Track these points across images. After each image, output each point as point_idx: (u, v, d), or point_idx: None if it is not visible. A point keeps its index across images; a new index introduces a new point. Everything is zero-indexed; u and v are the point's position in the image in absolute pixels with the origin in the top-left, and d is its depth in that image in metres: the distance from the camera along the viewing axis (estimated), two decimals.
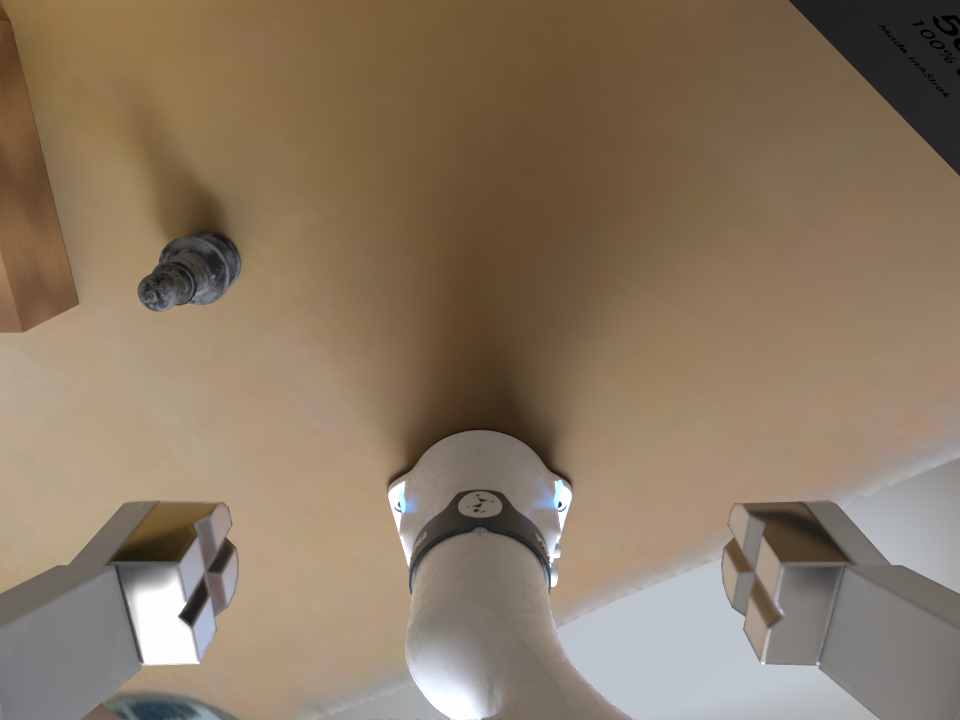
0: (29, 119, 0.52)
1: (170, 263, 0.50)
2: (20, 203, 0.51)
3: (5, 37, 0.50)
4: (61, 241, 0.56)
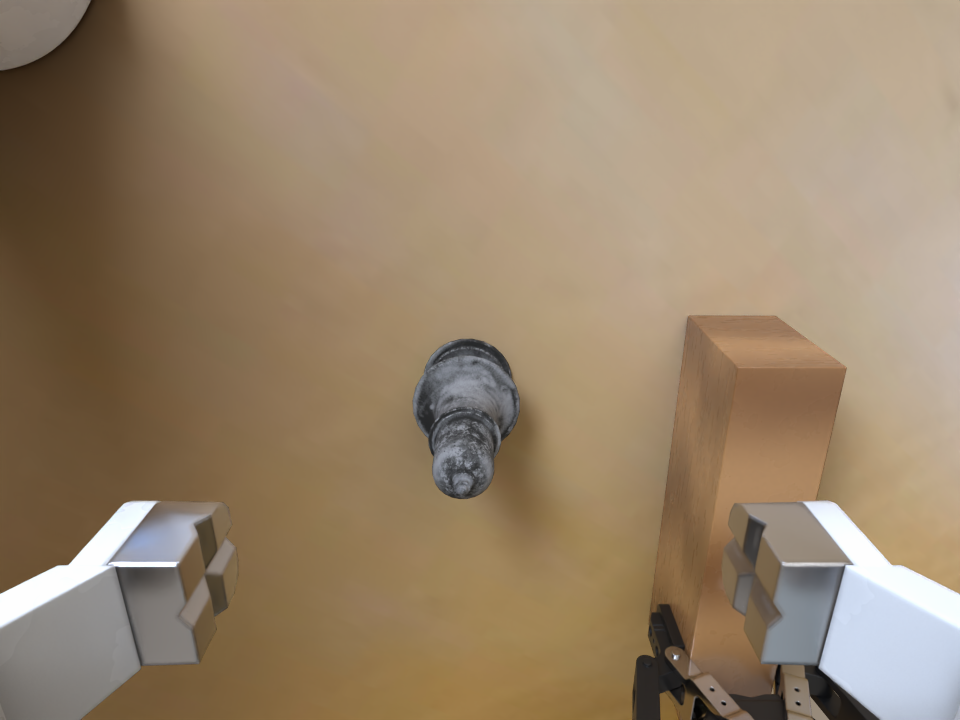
0: (661, 547, 0.42)
1: None
2: (689, 499, 0.37)
3: None
4: (677, 409, 0.39)
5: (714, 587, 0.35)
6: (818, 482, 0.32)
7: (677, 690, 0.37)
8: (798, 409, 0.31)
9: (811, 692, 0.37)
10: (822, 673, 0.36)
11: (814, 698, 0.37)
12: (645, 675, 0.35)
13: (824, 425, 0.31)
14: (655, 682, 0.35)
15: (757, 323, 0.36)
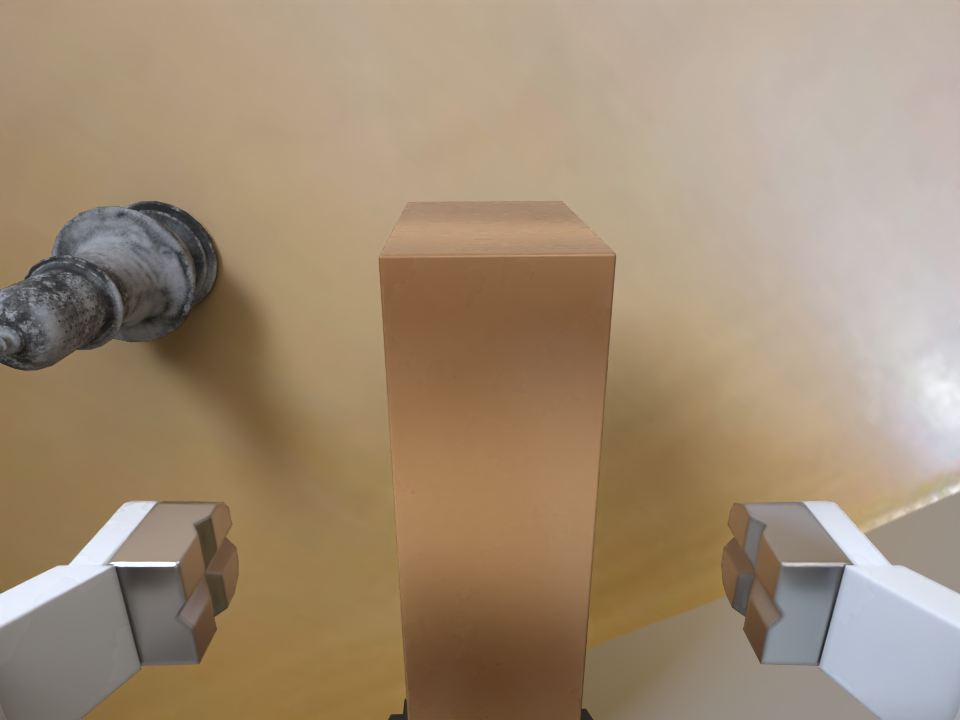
0: None
1: (79, 346, 0.24)
2: None
3: None
4: None
5: (430, 697, 0.18)
6: (593, 500, 0.16)
7: None
8: (528, 349, 0.15)
9: None
10: None
11: None
12: None
13: (588, 383, 0.15)
14: None
15: (518, 207, 0.20)
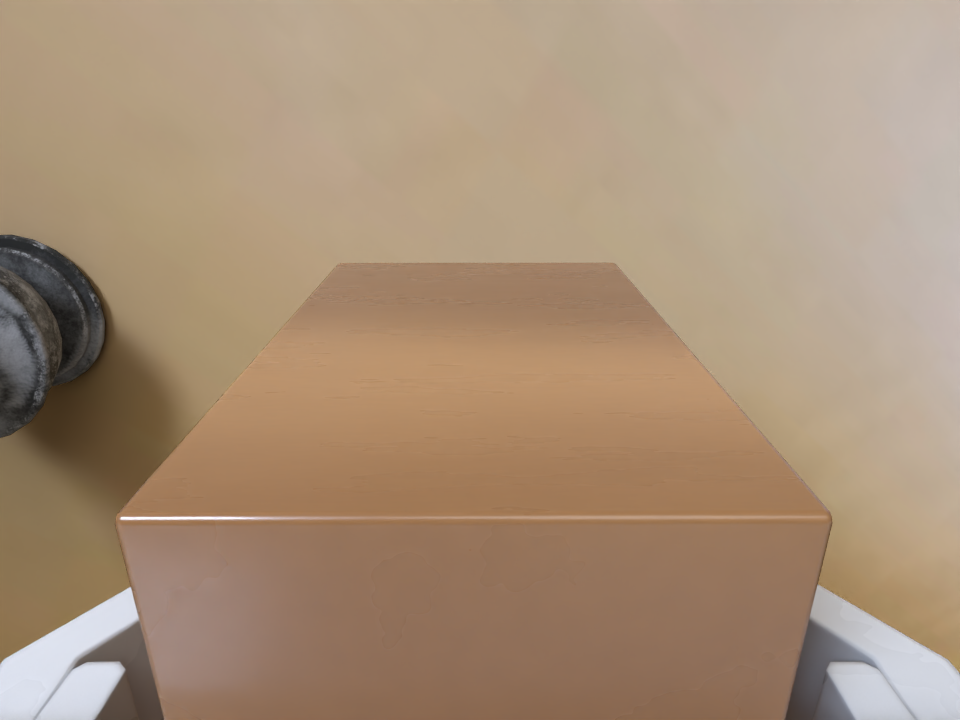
0: None
1: None
2: None
3: None
4: None
5: None
6: None
7: None
8: None
9: None
10: None
11: None
12: None
13: None
14: None
15: (535, 280, 0.10)
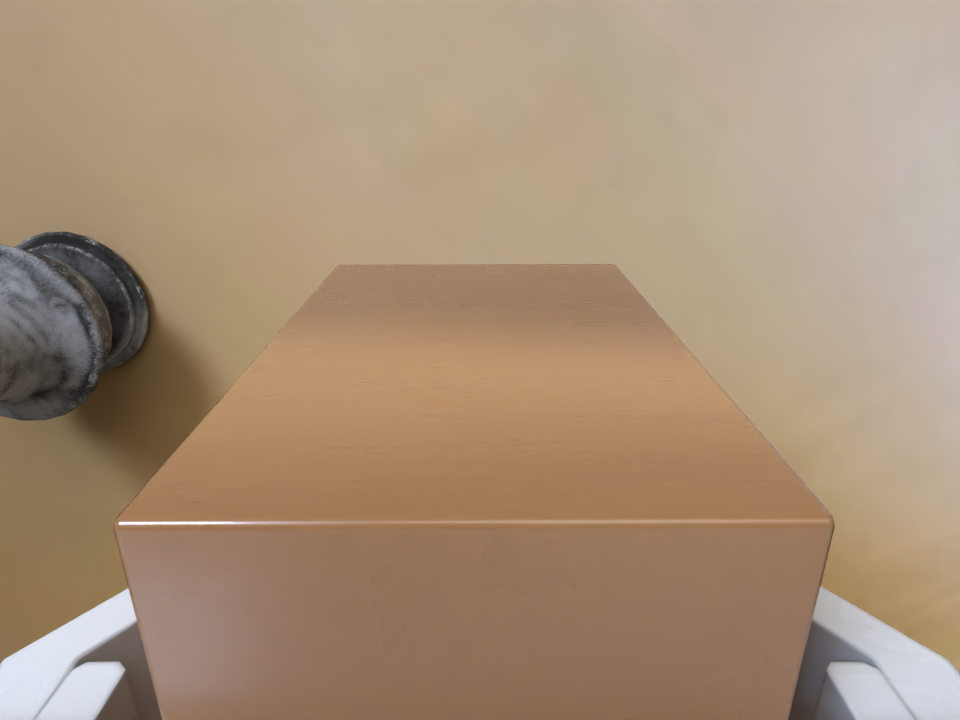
0: None
1: None
2: None
3: None
4: None
5: None
6: None
7: None
8: None
9: None
10: None
11: None
12: None
13: None
14: None
15: (535, 282, 0.10)
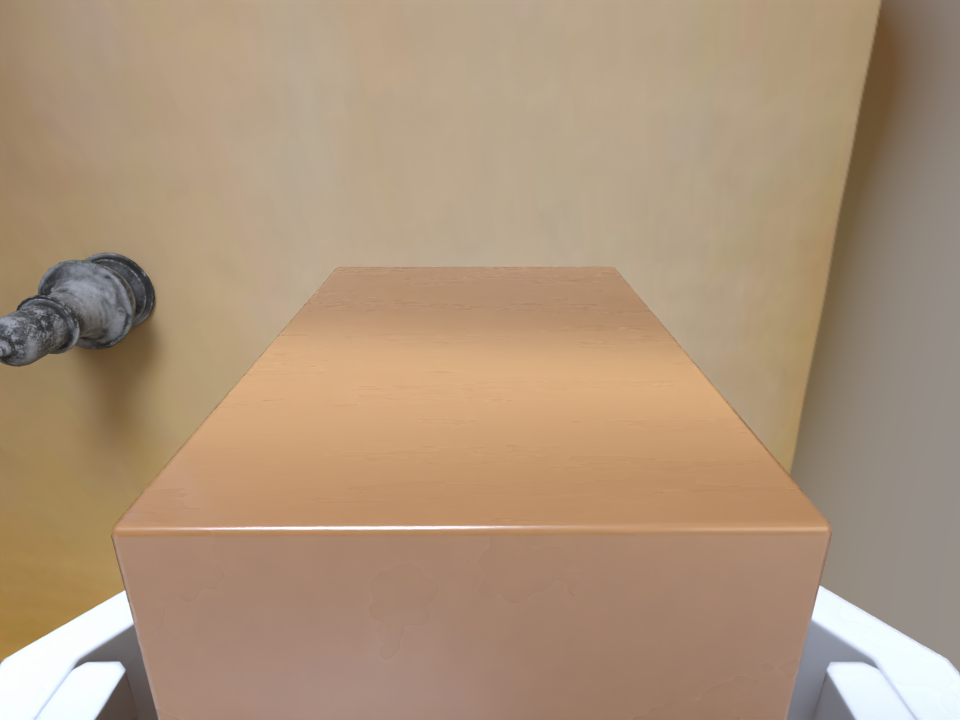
0: None
1: None
2: None
3: None
4: None
5: None
6: None
7: None
8: None
9: None
10: None
11: None
12: None
13: None
14: None
15: (534, 285, 0.10)
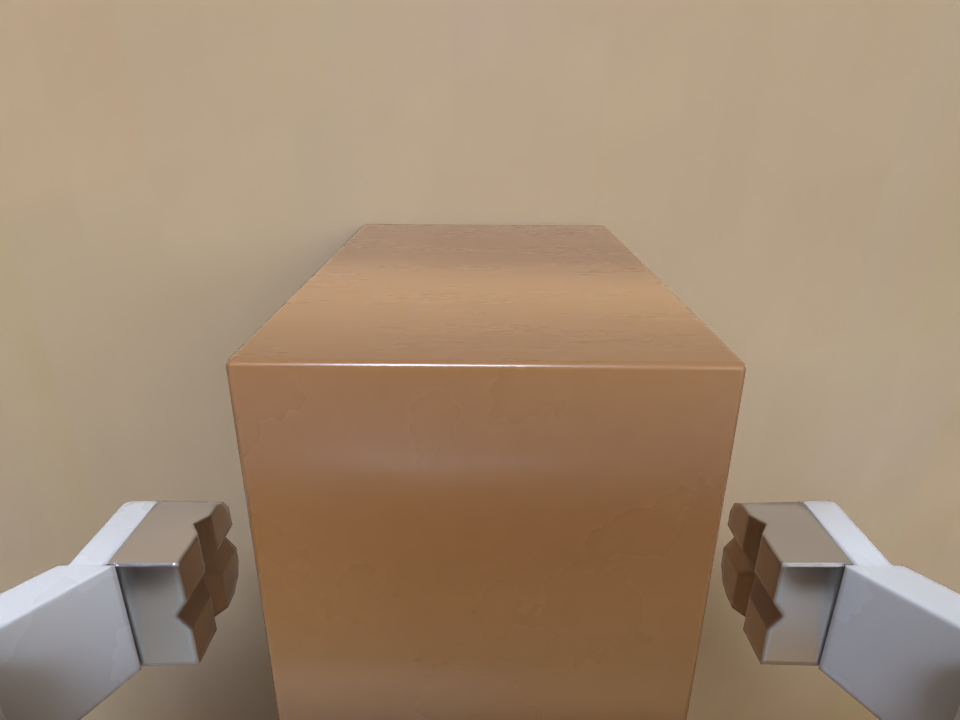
0: None
1: None
2: None
3: None
4: None
5: None
6: None
7: None
8: (547, 549, 0.07)
9: None
10: None
11: None
12: None
13: (668, 613, 0.07)
14: None
15: (535, 237, 0.12)
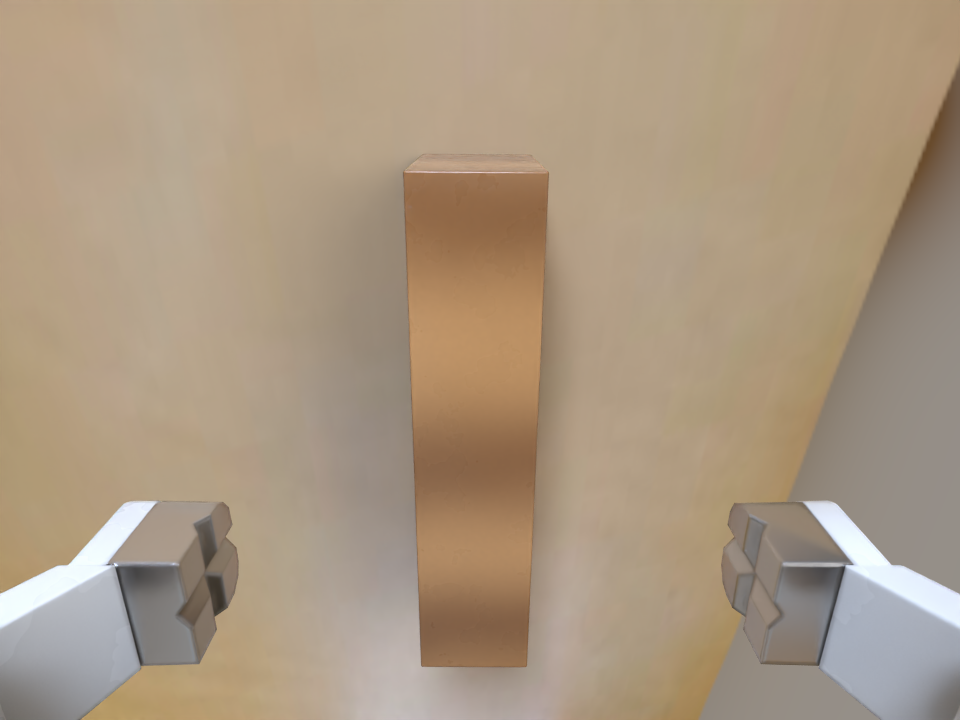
0: None
1: None
2: None
3: None
4: None
5: (430, 485, 0.27)
6: (538, 339, 0.25)
7: None
8: (494, 233, 0.23)
9: None
10: None
11: None
12: None
13: (533, 257, 0.24)
14: None
15: (498, 156, 0.28)
